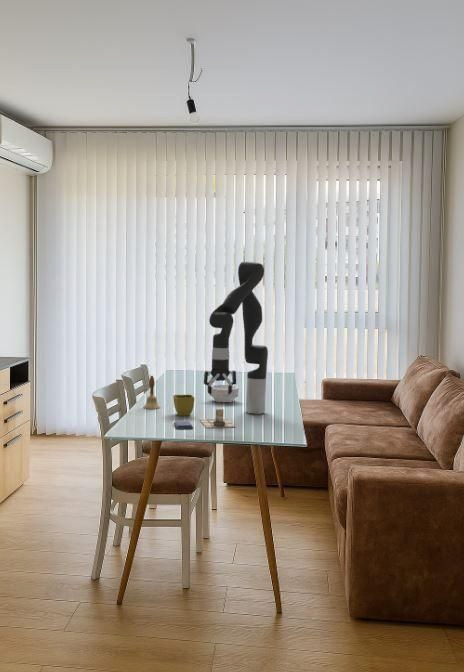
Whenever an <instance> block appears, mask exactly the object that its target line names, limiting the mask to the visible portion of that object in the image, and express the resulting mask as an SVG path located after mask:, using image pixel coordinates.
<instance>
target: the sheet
mask: <svg viewBox="0 0 464 672" xmlns="http://www.w3.org/2000/svg"><path fill="white" fill-rule="evenodd" d="M199 421H200V423H201V424H202V425H203V426H204V427H205V429H226V428H227V429H229V428H234V429H235V428H236V426H235V425H234V424H233V422H231V421H230V420H229V419H228V418H223V421H225V426H214V421H216V418H214V419H210V418H209V419H205V418H204V419H202V418H201V419H199Z"/></svg>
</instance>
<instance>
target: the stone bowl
mask: <svg viewBox="0 0 464 672" xmlns="http://www.w3.org/2000/svg"><path fill="white" fill-rule="evenodd" d="M228 385H229V384H212V385H211V386H212V394H211V395H210V394H209V396H210V397H212V398H213V401H215V402H216V403H220V402H230V403H233V402H234V401H235V399H236V398H239V390H240V389H239V387H238V386H235V385H232V393H231V394H228ZM232 401H233V402H232Z"/></svg>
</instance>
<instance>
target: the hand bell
mask: <svg viewBox="0 0 464 672" xmlns="http://www.w3.org/2000/svg"><path fill="white" fill-rule="evenodd" d="M149 377H150V378H149V381H148V383H149V388H150V390H149V393H150V395H149V396H147V399H146V403H145V404H144V405H143V409H145V408H146V410H159V409H161V406H160V405H159V403H158V401H157V396H155V395H154V394H155V393H154V387H155V377H154V375H150V376H149Z"/></svg>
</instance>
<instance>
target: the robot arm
mask: <svg viewBox="0 0 464 672" xmlns="http://www.w3.org/2000/svg"><path fill="white" fill-rule="evenodd" d="M237 270H238V271H237V273H238V274H237V275H238V282H239V286H237V287H236V288H234V289H232V290H231V291H230V292H229V294H227V296H226V297H225V299H224V301H223V302H222V304H220V305H219V306H217V307H216V309H214V310H213V311H212V313H210V316H209V319H208V320H209V325H210V326H211V327H212V328H216V329H220V332H219V333H215V334H213V337H212V351H211V370H205V371H204V374H203V384H204V385H205V386H207V393H208V394H209V396H210V395H211V394H212V386H213V385H214V382H216V381H217V382H220V381H221V382H226V383H227V385H228V394H231V393H232V386H235V385H236V384H237V372H236V370H234V369H233V370H230V349H229V348H230V336H231V334H232V333H231V332H232V329H233V325H234V317H233V315H235V314H236V313H237V311H238V310H239V308H240V306H241V307H242V321H243V322H242V323H243V332H244V360H245V362H246V363H247V364H252V365H258V367H257V368H255V369H252V370H249V371H248V372H247V374H246V375H247V377H246V378H247V379H246V408H245V412H246V413H247V412H248V413H247V414H249V413H255V414H254V415H260V414H259V413H264V412H265V413H266V394H267V393H266V391H267V389H266V386H267V370H268V356H269V350H268V347H267V346H266V345H260V344H253V339H254V337H255V334H256V333H257V331H258V330H259V328H260V326H261V324H262V323H263V310H262V309H263V308H262V305H261V303H260V301H259V300H258V298H257V296H256V295H255V293H254V289H255V288H256V287H257V286H258V284H260V283H261V281H262V280H263V278H264V275H265V267H264V265H263V264H262V263H260V262H257V261H255V262H254V261H241V262H240V263H239V265H238V269H237ZM210 375H211V378H210V379H209V376H210ZM230 375H231V377H232V381H231V380H230V378H229V376H230ZM208 379H209V381H208ZM265 413H264V414H265Z"/></svg>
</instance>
